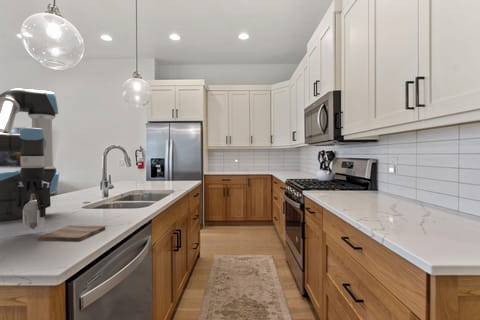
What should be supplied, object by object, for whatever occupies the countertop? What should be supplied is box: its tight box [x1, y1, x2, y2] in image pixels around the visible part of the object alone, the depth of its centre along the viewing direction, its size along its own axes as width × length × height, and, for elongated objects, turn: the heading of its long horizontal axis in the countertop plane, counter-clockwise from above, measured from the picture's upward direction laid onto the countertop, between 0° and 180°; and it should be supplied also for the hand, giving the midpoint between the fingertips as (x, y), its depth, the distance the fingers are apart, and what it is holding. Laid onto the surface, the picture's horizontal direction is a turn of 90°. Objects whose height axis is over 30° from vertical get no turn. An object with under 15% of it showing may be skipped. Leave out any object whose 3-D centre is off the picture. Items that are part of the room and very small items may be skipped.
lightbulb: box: [23, 200, 39, 229], centre depth 109 cm, size 6×6×11 cm
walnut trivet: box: [37, 224, 106, 242], centre depth 108 cm, size 16×16×1 cm
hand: (33, 225), depth 109 cm, fingers closed on lightbulb, 5 cm apart
